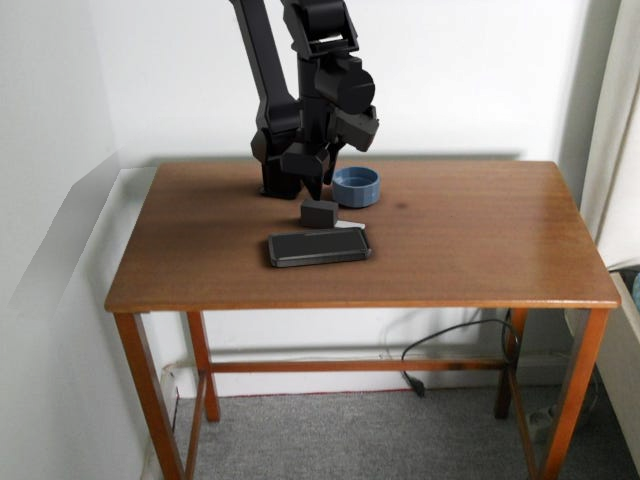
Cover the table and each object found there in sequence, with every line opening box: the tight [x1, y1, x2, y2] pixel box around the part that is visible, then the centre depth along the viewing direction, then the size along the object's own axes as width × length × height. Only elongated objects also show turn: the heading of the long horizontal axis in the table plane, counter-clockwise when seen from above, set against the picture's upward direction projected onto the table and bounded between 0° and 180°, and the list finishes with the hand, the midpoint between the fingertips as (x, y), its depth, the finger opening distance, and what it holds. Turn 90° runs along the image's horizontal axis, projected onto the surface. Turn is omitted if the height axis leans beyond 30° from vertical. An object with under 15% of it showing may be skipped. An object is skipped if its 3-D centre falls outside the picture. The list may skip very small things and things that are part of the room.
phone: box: [267, 227, 372, 268], centre depth 102 cm, size 8×1×15 cm
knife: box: [299, 197, 366, 230], centre depth 107 cm, size 10×3×4 cm, turn 75°
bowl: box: [331, 165, 382, 209], centre depth 114 cm, size 8×8×4 cm
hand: (322, 192), depth 105 cm, fingers open, 5 cm apart
